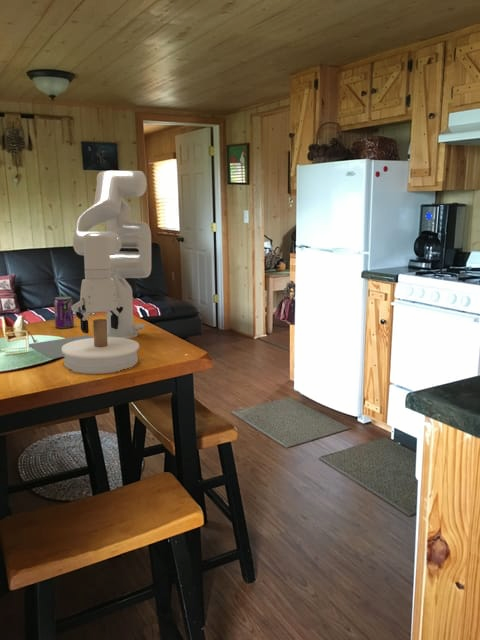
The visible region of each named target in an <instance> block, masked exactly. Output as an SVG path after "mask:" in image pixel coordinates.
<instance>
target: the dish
mask: <svg viewBox="0 0 480 640" xmlns="http://www.w3.org/2000/svg"><path fill="white" fill-rule="evenodd" d="M137 351H138V350H137ZM137 351H136V352H134V353H131V354H128V355H124V356H120V357H113V358H102V359H84V358H75V357H70V356H67V355H65V354H64V357H63V358H64V359H63V364H64V367H65V368H67V369H69V370H68V371H70V372H73V373H79V374H86V375H87V374H88V375H89V374H90V375H91V374H111V373H116V371H118V372H121V371H120V370H123V369H126V368H129V367H132V366H134V365H135V364H136V363H137V362H139V359H138V358H139V357H138V354H137V353H138V352H137ZM137 364H138V363H137ZM137 364H136V365H137ZM136 365H135V366H136ZM135 366H134V367H135ZM132 368H133V367H132ZM129 369H130V368H129ZM126 370H127V369H126ZM123 371H124V370H123Z"/></svg>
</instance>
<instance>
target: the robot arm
mask: <svg viewBox="0 0 480 640" xmlns="http://www.w3.org/2000/svg"><path fill="white" fill-rule="evenodd" d="M147 186H148V183H147V177H146V175H145V173H144V171H142V170H123V169H122V170H117V169H116V170H114V169H111V170H110V169H109V170H102V171H100V172H99V173H97V175H96V186H95V187H96V188H95V194H94V195H95V196H94V201H93V204H92V205H91V206H89V207H88V208H87V209H86V210H85V211H83V213H81V215H79V217H78V218H77V220H76V223H75V226H74V231H73V237H72V248H73V249H74V252H75V253H76V254H77V255H79V256H83V259H84V260H83V262H84V279H82V280H81V285H80V296H79V298H80V299H79V301H77V302H76V303H73V305H72V306H71V309H72V310H73V315H74V316H75V317H77V318H78V320H80V322H79V323H80V330H81V332H82V334H83V333H84V334H89V331H90V330H89V320H87V318H89V316H91V314H100V313H106V320H107V337H115V338H126V339H133V338H136V337H137V336H138V331H139V330H145V329H146V326H145V323H143V324H136V323H134V311H133V310H134V309H133V308H134V307H133V305H134V304H133V302H134V301H133V289H132V286H131V284H129V282H128V281H127V280H126V279H144V278H148V277H149V276H150V275H151V272H152V232H151V228H150V226H149V224H148V223H146V222H144V221H131V207H130V205H129V204H128V203H127V201H126V200H125V199H124V198H123V197H141V196H144V194H145V193H146V190H147ZM102 223H103V224H104V223H106V231H101V230H90V229H92V228H94V227H96V226H97V225H100V224H102ZM122 249H136V250H138V251H121V250H122ZM79 309H80V311H79Z"/></svg>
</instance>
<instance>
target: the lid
mask: <svg viewBox="0 0 480 640" xmlns="http://www.w3.org/2000/svg"><path fill="white" fill-rule="evenodd" d="M92 322H93V324H92V325H93V338H88V339H81V340H76V341H72V342H69V343H67V344H65V345H63V346H62V353H63V354H65V355H67V356H70V357H75V358H84V359H102V358H113V357H120V356H124V355H128V354H131V353H134V352H136V351H139V348H140V343H139V342H138V341H137V340H133V339H132V338H130V339H126V338H115V337H107V318H106V319H105V318H97V319H93V320H92Z"/></svg>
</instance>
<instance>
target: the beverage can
mask: <svg viewBox="0 0 480 640" xmlns="http://www.w3.org/2000/svg"><path fill="white" fill-rule="evenodd" d="M54 299H55V300H54V302H53V304H54V305H53V306H54V326H55V327H56V328H59V329H70V328H72V327H73V326H74V325H75V321H74V316H75V315H74V312H73V310H72V309H71V306H72V305H74V302H73V300H72V296H57V297H54Z"/></svg>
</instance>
